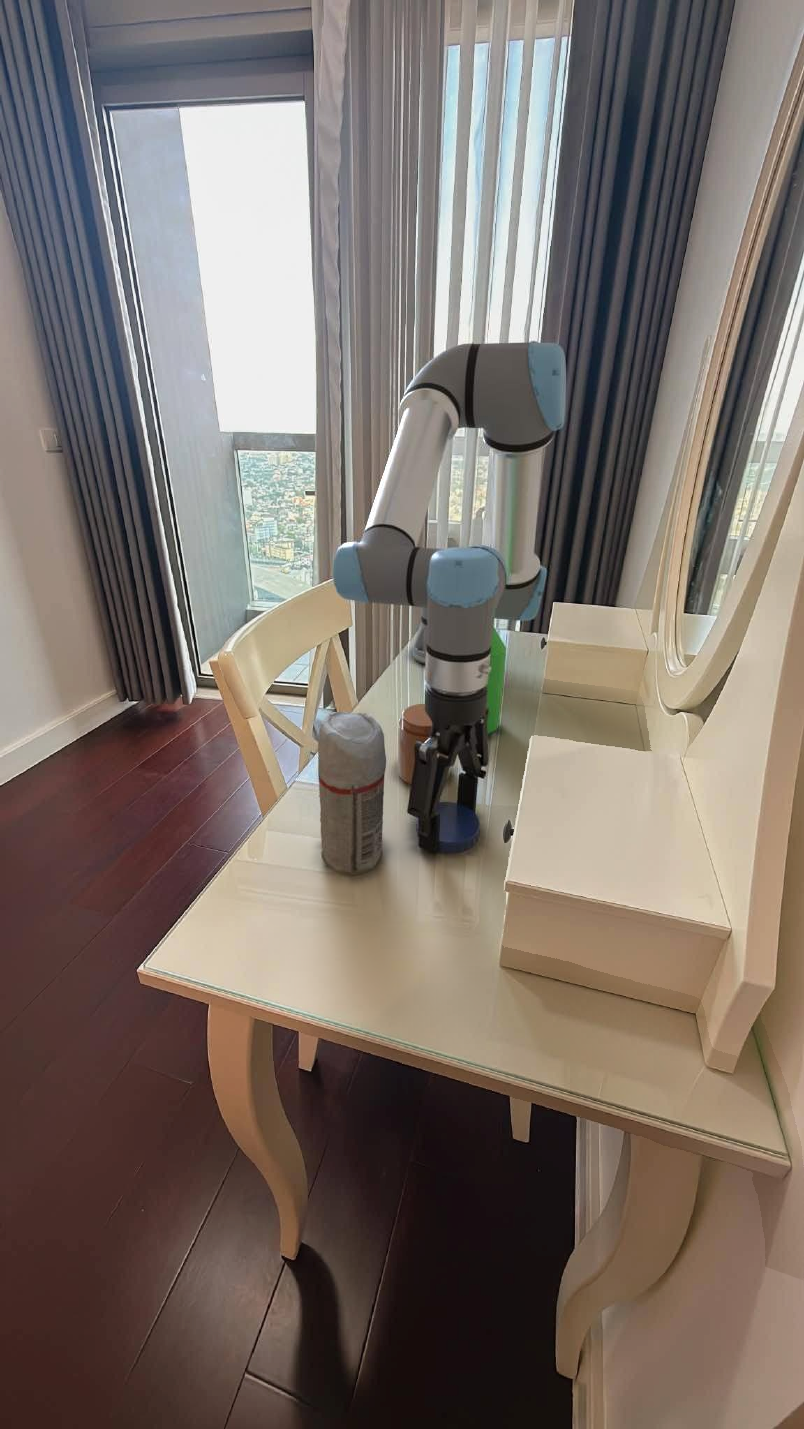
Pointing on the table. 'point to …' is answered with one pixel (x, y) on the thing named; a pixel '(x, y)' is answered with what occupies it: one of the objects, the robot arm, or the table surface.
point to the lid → (456, 827)
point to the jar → (412, 739)
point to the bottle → (495, 680)
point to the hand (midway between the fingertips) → (447, 830)
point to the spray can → (351, 791)
